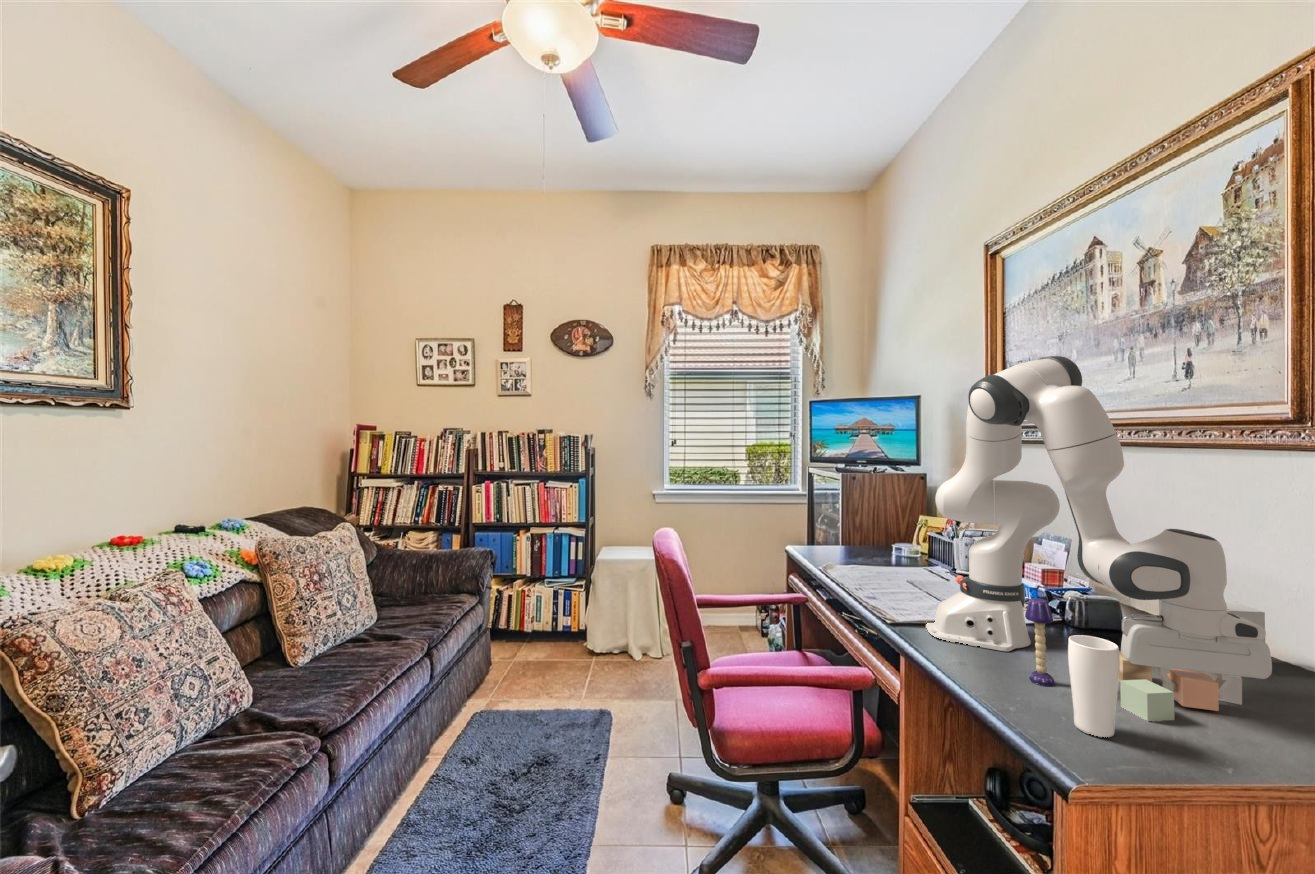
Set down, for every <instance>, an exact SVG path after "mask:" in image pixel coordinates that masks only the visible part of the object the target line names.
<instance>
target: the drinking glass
mask: <svg viewBox="0 0 1315 874" xmlns="http://www.w3.org/2000/svg"><path fill="white" fill-rule="evenodd" d="M1067 640H1068V641H1067V642H1068V643H1067V665H1068V673H1069V674H1068V675H1069V680H1070V681H1069V682H1070V691H1071V698H1072V700H1071V701H1072V709H1073V724H1074V726H1075V727H1076V728H1077V729H1078V730H1080V731H1081V732H1083V733H1084V734H1086V735H1089V734H1091V735H1090V736H1092V735H1094V736H1093V737H1096V736H1098V738H1102V737H1104V738H1105V737H1106V738H1107V737H1108V738H1111V737H1113V736H1114V735H1115V731H1116V727H1115V725H1116V723H1115V721H1116V711H1117V702H1118V694H1119V693H1118V692H1119V685H1120V684H1119V683H1120V682H1119V673H1120V658H1119V651H1120V648H1119V645H1117V644H1116V643H1114V642H1112V641H1110V640H1109V639H1104V638H1102V637H1101V638H1100V637H1097V636H1092V635H1083V634H1081V635H1080V634H1078V635H1077V634H1076V635H1070V636H1069V637H1068V639H1067ZM1104 738H1103V739H1104ZM1108 738H1107V739H1108Z"/></svg>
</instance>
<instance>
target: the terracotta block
mask: <svg viewBox="0 0 1315 874" xmlns="http://www.w3.org/2000/svg"><path fill="white" fill-rule="evenodd" d="M1166 674H1167V676H1168V677H1169V679H1172V680H1174V682H1176V683H1177V684H1178V687H1177V689H1178V692H1174V701H1176V702H1177V703H1178V704H1179V705H1180V706H1182V707H1184V708H1192V709H1200V710H1207V711H1216V712H1219V709H1220V704H1219V701H1220V700H1219V683H1218V682H1216V681H1215V680H1213V679H1212V678H1210V677H1209V676H1208V675H1206V674H1205V673H1203V672H1198V671H1189V670H1180V669H1172V668H1170V674H1168V673H1166Z"/></svg>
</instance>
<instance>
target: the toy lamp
mask: <svg viewBox="0 0 1315 874" xmlns="http://www.w3.org/2000/svg"><path fill="white" fill-rule="evenodd" d="M1024 618H1025V619H1026V620H1028V621H1030V622H1032V623H1033V624H1034V634H1035V636H1034V641H1035V643H1034V647H1035V663H1036V666H1035V671H1032V672H1031V673H1030V675H1029V677H1028V679H1030V680H1031V681H1032V682H1031V681H1030V680H1029V681H1030V682H1031V683H1033V682H1034V683H1033V684H1035V683H1038V684H1040V685H1039V686H1042V685H1043V687H1054V686H1055V685H1056V682H1055V679H1054V678H1053V676H1052V675H1051V674H1049V673H1048V669H1047V659H1046V658H1047V652H1046V651H1047V646H1046V641H1047V640H1046V636H1045V635H1046V629H1045V627H1046V624H1051V623H1053V622H1054V617H1053V615H1052V611H1051V609H1050V606H1049V603H1048V601H1047V600H1046V599H1043V598H1040V597H1039V598H1038V597H1033V598H1030V599H1029V600H1028V603H1027V607H1026V610H1025V613H1024ZM1038 684H1037V685H1038Z"/></svg>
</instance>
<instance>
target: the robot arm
mask: <svg viewBox="0 0 1315 874" xmlns="http://www.w3.org/2000/svg"><path fill="white" fill-rule="evenodd" d="M1082 385H1083V375H1082V372H1081V370H1080V368H1079V366H1078V365H1077V364H1076V363H1075V362H1074V361H1073V360H1071V359H1070V358H1068V357H1065V356H1061V355H1052V356H1051V355H1050V356H1043V357H1039V358H1037V359H1035V360H1030V361H1026V362H1021V363H1018V364H1015V365H1012V366H1010V367H1008V368H1006V369H1003V370H1000V371H998V372H996V373H994V374H990V375H986V376H984V377H982V378H981V379H979V380H978V381H977V380H976V381H975V382H974V383H973V385H972V386H971V387H970V389H969V390H968V391H969V392H968V396H967V397H968V398H967V399H968V404H967V405H968V406H967V410H966V411H967V413H966V421H965V422H966V423H965V433H966V434H965V439H966V440H965V441H966V443H965V446H966V447H965V456H964V458H965V459H964V462H963V464H962V466H961V468H960V469H959V471H958V472H957V473H956V474H955V475H953V476H952V477H950V478H949V479H947V480H945V481H944V482H942V483H941V484H940V486H939V487H938V489H936V493H935V498H934V500H935V507H936V508H937V510H938V512H939V513H940V515H941V516H942V517H943V518H945V519H948V520H951V521H956V522H961V523H967V524H981V525H983V524H985V525H994V526H997V527H998V529H997V532H996V533H994V534H992V535H990V536H987V537H984V538H981V539H978V540H976V541H975V542H972V544H971V546H970V547H969V550H968V576H967V577H964V576H963V575H957V576H955V581H956V582H957V584H958V585H959V589H960V590H959V591H958V592H957V593H955V594H953V595H951V596H950V597H949V596H948V597H947V598H945V599H944V600H942V601H941V602H939V604H938V605H937V608H936V611H935V616H934V618H935V622H934V623H927V624H926V623H925V629H926V628H927V630H928V632H929V633H930V634H931V635H933V636H934V637H937V638H939V639H942V640H941V641H943V640H946V641H945V642H949V641H950V642H949V643H955V642H959V643H958V644H960V643H963V644H962V645H966V644H968V645H967V646H973V647H977V646H980V647H979V648H984V649H989V650H990V649H991V650H994V651H995V650H996V651H1000V652H1001V651H1002V652H1010V651H1013V650H1015V649H1022V648H1026V647H1028V646H1030V645H1031V643H1032V641H1031V639H1030V636H1029V633H1028V629H1027V625H1026V620H1025V619H1026V617H1025V613H1024V607H1025V603H1026V589H1025V584H1024V583H1023V563H1024V562H1023V561H1024V553H1025V549H1026V548H1027V545H1028V543H1029V541H1030V540H1031V538H1033V536H1034V535H1035V534H1037V533H1038V532H1039V531H1040V530H1042V529H1043V528H1044V527H1047V526H1049V525H1050V524H1052V523H1053V522H1054V521H1055V520H1056V518H1057V516H1058V515H1059V512H1060V504H1061V503H1060V499H1059V497H1058V494H1057V493H1056V491H1054V490H1053V489H1052V487H1050V486H1049V485H1047V484H1043V483H1038V482H1033V481H1027V480H1003V479H1002V480H1001V479H1000V480H999V479H996V480H994V479H995V478H997V477H999V476H1001V475H1005V474H1007V473H1009V472H1011V471H1012V470H1014V469H1015V468H1016V467H1018V465H1019V463H1020V462H1021V461H1022V451H1023V450H1022V445H1023V444H1022V442H1023V441H1022V440H1023V439H1022V436H1023V434H1022V431H1023V429H1022V427H1023V425H1022V424H1023V423H1024V422H1025V421H1027V422H1029V423H1032V424H1033V425H1034V426H1036V428H1037V429H1038V431H1039V433H1040V435H1041V437H1042V438H1041V439H1042V440H1043V443H1044V445H1045V446H1044V447H1045V449H1046V451H1047V454H1048V457H1049V459H1050V462H1051V463H1052V466H1053V467H1054V470H1055V472H1056V474H1057V476H1058V478H1059V481H1060V483H1061V485H1062V488H1063V490H1064V494H1065V497H1066V500H1067V503H1068V506H1069V509H1070V512H1071V516H1072V519H1073V521H1074V525H1075V527H1076V531H1077V535H1078V546H1077V547H1078V548H1077V563H1078V566H1079V568H1080V570H1081V571H1082V573H1083V574H1084V575H1085V576H1086V577H1087V578H1089V579H1090V580H1092V581H1093V582H1096V583H1098V584H1100V585H1104V586H1106V587H1107V588H1109V589H1111V590H1112V591H1115V592H1117V593H1118V594H1121V596H1124V597H1127V598H1130V599H1133V600H1134V599H1135V600H1139V601H1152V600H1153V601H1157V600H1158V615H1156V614H1140V613H1131V614H1130V615H1129V614H1128V615H1126V616H1125V617H1123V618H1122V619H1121V631H1122V637H1121V642H1120V644H1121V645H1120V651H1121V653H1122V655H1123V656H1124V657H1125V658H1126V659H1127V660H1128V661H1130V662H1131V663H1132V664H1137V665H1145V666H1152V667H1154V669H1155V671H1156V672H1157V674H1158V675H1159V677H1161V679H1162V687H1164V688H1166V689H1168V690H1170V691H1172V692H1178V689H1177V687H1178V684H1177V683H1176V682H1174V680H1172V679H1169V677H1168V676H1167V673H1168V674H1170V668H1172V669H1180V670H1189V671H1198V672H1206V673H1215V675H1216V676H1218V678H1217V679H1216V680H1215V681H1216V682H1218V683H1219V698H1223V697H1224V689H1225V688H1226V687H1227V686H1228V685H1229V684H1230V683H1231V682H1232V675H1233V676H1241V678H1249V679H1250V678H1251V679H1252V678H1253V679H1259V680H1266V679H1268V678H1269V677H1270V676H1271V675H1272V674H1273V662H1272V655H1271V650H1270V648H1269V645H1268V644H1267V643H1266V641H1265V642H1264V641H1263V640H1261V639H1264V638H1265V639H1266V635H1267V633H1266V628H1265V629H1264V628H1262V627H1261V626H1259V625H1257V624H1255V623H1253V622H1251V621H1249V620H1247V619H1244V618H1242V617H1239V616H1237V615H1233V614H1231V613H1227V605H1226V602H1227V601H1226V600H1225V597H1224V593H1225V589H1226V586H1227V583H1228V581H1227V563H1226V557H1225V556H1226V555H1225V552H1224V549H1223V546H1222V543H1221V542H1219V540H1217V539H1216V538H1214V537H1212V536H1210V535H1207V534H1204V533H1198V532H1194V531H1190V530H1186V529H1185V530H1184V529H1179V528H1166V529H1164V530H1163V531H1162V532H1160V533H1158V534H1157V535H1155V536H1152V537H1151V538H1148V539H1145V540H1142V541H1138V542H1134V543H1131V542H1130V541H1127V540H1126V539H1125V538H1124V537H1123V536H1122V535H1121V534H1120V532H1119V531H1118V529H1117V526H1116V524H1115V521H1114V518H1113V515H1112V514H1113V513H1112V511H1111V510H1112V509H1111V508H1110V505H1109V502H1108V498H1107V489H1108V487H1109V485H1110V484H1111V482H1113V481H1114V480H1115V479H1117V477H1118V476H1119V475H1120V474H1121V473H1122V471H1123V469H1124V468H1125V459H1124V454H1123V448H1122V445H1121V442H1120V440H1119V437H1118V435H1117V432H1116V430H1115V428H1114V424H1113V423H1112V421H1111V420H1110V417H1109V416H1108V414H1107V412H1106V410H1105V408H1104V407H1103V406H1102V403H1100V401H1099V400H1098V398H1097V397H1096V395H1095V394H1094V392H1092V391H1091V390H1090V389H1089V388H1087V387H1084V386H1082ZM927 630H926V631H927ZM928 632H927V633H928ZM929 633H928V634H929ZM930 634H929V635H930ZM931 635H930V636H931ZM934 637H933V638H934Z"/></svg>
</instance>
